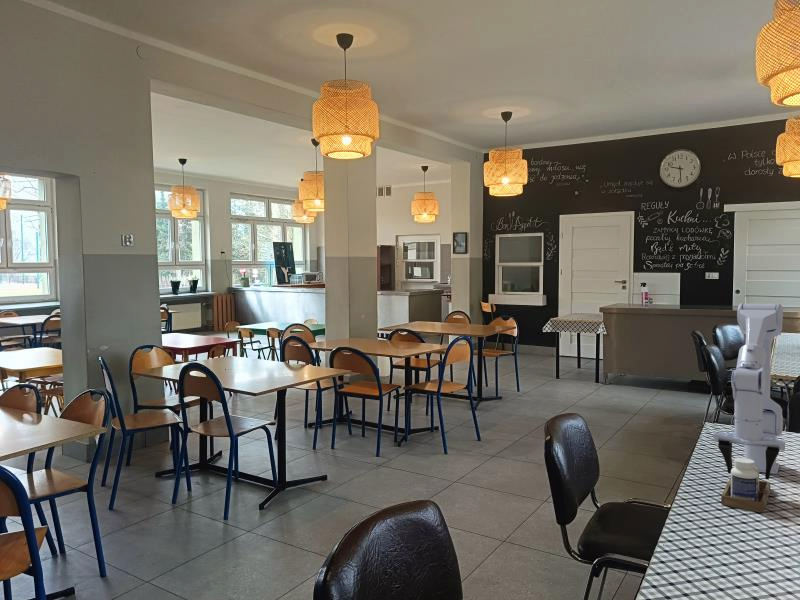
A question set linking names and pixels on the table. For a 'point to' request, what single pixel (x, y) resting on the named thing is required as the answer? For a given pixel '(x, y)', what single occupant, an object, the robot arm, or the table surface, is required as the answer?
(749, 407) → the robot arm
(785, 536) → the table surface
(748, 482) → the pill bottle
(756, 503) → the wooden tray
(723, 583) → the table surface
